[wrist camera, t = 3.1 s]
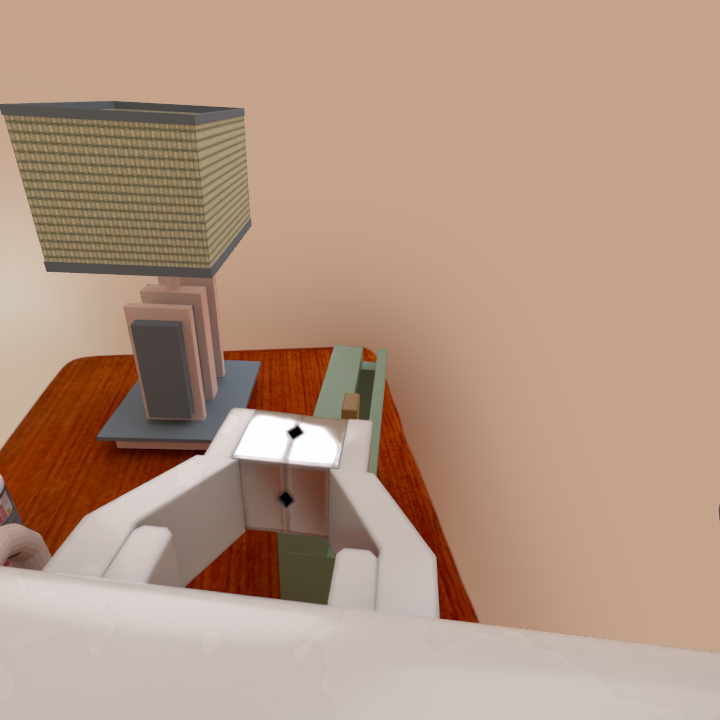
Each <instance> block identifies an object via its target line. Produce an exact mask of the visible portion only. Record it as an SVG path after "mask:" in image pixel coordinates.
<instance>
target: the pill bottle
mask: <svg viewBox="0 0 720 720" xmlns="http://www.w3.org/2000/svg"><path fill="white" fill-rule="evenodd" d="M12 523H15V524H20V525H22V526H24V525H23V523H22V521H21V518H20V516H19V514H18V511H17V509H16V507H15V505H14V502H13V500H12V498H11V495H10V493H9V491H8V488H7V486H6V484H5V481H4V480H3V478H2V476H1V475H0V526H4V525H7V524H12ZM3 566H6V567H11V565H10V563H9V562H8V561H6V562H5V564H4V565H3Z"/></svg>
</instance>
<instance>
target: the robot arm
mask: <svg viewBox="0 0 720 720" xmlns="http://www.w3.org/2000/svg"><path fill="white" fill-rule="evenodd" d="M372 427H373V422H372V420H358V419H349V420H347V419H336V418H325V417H314V416H303V415H298V414H290V413H281V412H273V411H264V410H255V409H246V408H236V407H235V408H233V409H231V410H230V411H229V413H228V415H227V417H226V418H225V420H224V422H223V423H222V425H221V427H220V428H219V430H218V432H217V434H216V435H215V437H214V439H213V440H212V442H211V444H210V446H209V447H208V449H207V451H206V452H205V454H204V455H196V456H194V457H192V458H190V459H188V460H186V461H185V462H183V463H181V464H179V465H177V466H175V467H174V468H172V469H170V470H168V471H166V472H164V473H163V474H161V475H159V476H157V477H155V478H153V479H152V480H150V481H148V482H146V483H144V484H142V485H141V486H139V487H137V488H135V489H133V490H131V491H130V492H128V493H126V494H124V495H122V496H120V497H119V498H117V499H115V500H113V501H111V502H109V503H108V504H106V505H104V506H102V507H100V508H99V509H97V510H95V511H93V512H91V513H89V514H88V515H86V516H84V517H83V519H82V520H81V521H80V522H79V524H78V525H77V526H76V527H75V529H74V530H73V531H72V533H71V534H70V535H69V536H68V538H67V539H66V540H65V541H64V543H63V544H62V545H61V547H60V548H59V549H58V550H57V552H56V553H55V554H54V555H53V557H52V558H51V559H50V560H49V562H48V563H47V564H46V566H45V567H44V568H43V569H42V571H39V570H31V569H22V568H14V567H6V566H0V720H720V652H713V651H705V650H697V649H687V648H680V647H671V646H663V645H655V644H647V643H638V642H630V641H622V640H613V639H605V638H597V637H588V636H580V635H572V634H563V633H555V632H547V631H538V630H529V629H522V628H513V627H504V626H496V625H488V624H480V623H471V622H463V621H455V620H446V619H440V616H439V598H438V580H437V563H436V556H435V554H434V553H433V552H432V550H431V549H430V548H429V546H428V545H427V544H426V542H425V541H424V540H423V538H422V537H421V536H420V534H419V533H418V532H417V530H416V529H415V528H414V526H413V525H412V524H411V522H410V521H409V520H408V518H407V517H406V516H405V514H404V513H403V511H402V510H401V509H400V507H399V506H398V505H397V503H396V502H395V501H394V499H393V498H392V497H391V495H390V494H389V493H388V491H387V490H386V489H385V487H384V486H383V485H382V483H381V482H380V481H379V479H378V478H377V477H376V475H375V474H374V473H369V464H370V451H371V439H372ZM245 529H248V530H260V531H272V532H284V533H292V534H299V535H306V536H314V537H321V538H328V541H329V543H330V546H331V548H332V550H333V553H334V555H335V557H336V560H335V565H334V571H333V576H332V582H331V587H330V593H329V598H328V604H327V605H322V604H314V603H306V602H298V601H289V600H281V599H273V598H264V597H256V596H248V595H239V594H231V593H223V592H214V591H206V590H198V589H189V588H184V587H185V586H186V585H188V584H189V583H190V582H191V581H192V580H193V579H194V578H195V577H196V576H197V575H199V574H200V573H201V572H202V571H203V570H204V569H205V568H206V567H207V566H208V565H209V564H211V563H212V562H213V561H214V560H215V559H216V558H217V557H218V556H219V555H220V554H222V553H223V552H224V551H225V550H226V549H227V548H228V547H229V546H230V545H231V544H232V543H234V542H235V541H236V540H237V539H238V538H239V537H240V536H241V535H242V534H243V533H245Z"/></svg>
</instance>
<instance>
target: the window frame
mask: <svg viewBox="0 0 720 720" xmlns="http://www.w3.org/2000/svg"><path fill="white" fill-rule="evenodd" d="M387 353H388V350H387V349H378V355H377V362H365V361H362V359H363V347H354V346H342V345H335V346H334V349H333V352H332V355H331V359H330V362H329V365H328V368H327V372H326V375H325V378H324V381H323V385H322V388H321V391H320V394H319V398H318V401H317V404H316V407H315V411H314V414H313V416H314V417H325V418H336V419H341V410H342V405H343V401H344V396H345V393H356V394H360V408H359V420H372V422H373V427H372V439H371V451H370V464H369V473H374V474H375V475H376V476H377V465H378V453H379V442H380V431H381V420H382V409H383V397H384V386H385V375H386V363H387ZM277 539H278V556H279V576H280V595H281V600H289V601H298V602H306V603H314V604H322V605H327V604H328V598H329V593H330V587H331V582H332V576H333V571H334V565H335V560H336V557H335V555H334V553H333V550H332V548H331V546H330V543H329V541H328V538H321V537H314V536H306V535H299V534H292V533H284V532H277Z"/></svg>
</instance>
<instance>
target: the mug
mask: <svg viewBox="0 0 720 720" xmlns="http://www.w3.org/2000/svg"><path fill="white" fill-rule="evenodd" d="M51 558H52V557H51V555H50V553H49V550H48V548H47V546H46V544H45V542H44V540H43V538H42V536H41V535H40V534H39V533H37V532H35V531H33V530H31V529H28V528H26V527H24V526H22V525H20V524H15V523H12V524H7V525H4V526H0V566H3V565H4V564H5V562H6V561H8V562H9V563H10V565H11V567H14V568H22V569H31V570H39V571H42V569H43V568H44V567H45V566H46V564H47V563H48V562H49V560H50V559H51Z"/></svg>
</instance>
